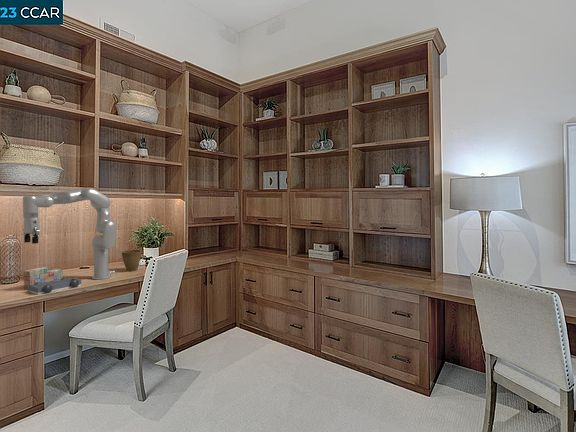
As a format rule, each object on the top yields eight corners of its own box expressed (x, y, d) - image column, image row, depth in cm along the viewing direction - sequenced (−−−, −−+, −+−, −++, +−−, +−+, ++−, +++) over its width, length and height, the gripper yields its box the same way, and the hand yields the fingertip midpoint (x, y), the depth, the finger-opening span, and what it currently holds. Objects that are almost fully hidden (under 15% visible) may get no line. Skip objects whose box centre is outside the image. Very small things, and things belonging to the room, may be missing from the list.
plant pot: (121, 269, 282) (121, 250, 281) (140, 268, 289) (140, 249, 288) (122, 273, 268) (121, 253, 268) (142, 271, 276) (142, 251, 275)
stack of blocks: (56, 282, 239) (56, 264, 238) (63, 282, 236) (62, 265, 236) (23, 289, 219) (23, 270, 218) (30, 290, 216) (29, 271, 216)
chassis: (71, 283, 235) (71, 276, 235) (82, 285, 228) (82, 278, 228) (28, 291, 213) (28, 283, 212) (39, 294, 206) (39, 286, 206)
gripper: (44, 215, 211) (45, 243, 212) (30, 215, 220) (31, 241, 221) (30, 216, 205) (31, 244, 206) (17, 215, 213) (17, 242, 214)
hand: (31, 242), depth 213 cm, fingers open, 9 cm apart
